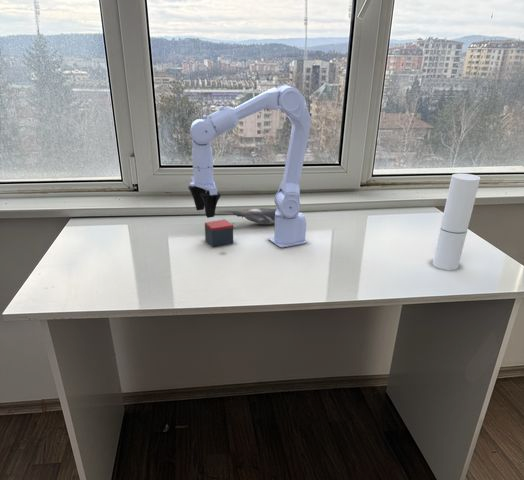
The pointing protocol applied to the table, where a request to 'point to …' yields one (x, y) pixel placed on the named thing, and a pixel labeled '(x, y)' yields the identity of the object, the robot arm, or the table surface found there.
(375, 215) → the table surface
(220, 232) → the two-tone lidded box
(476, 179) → the cylindrical container
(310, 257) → the table surface
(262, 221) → the decorative bird
